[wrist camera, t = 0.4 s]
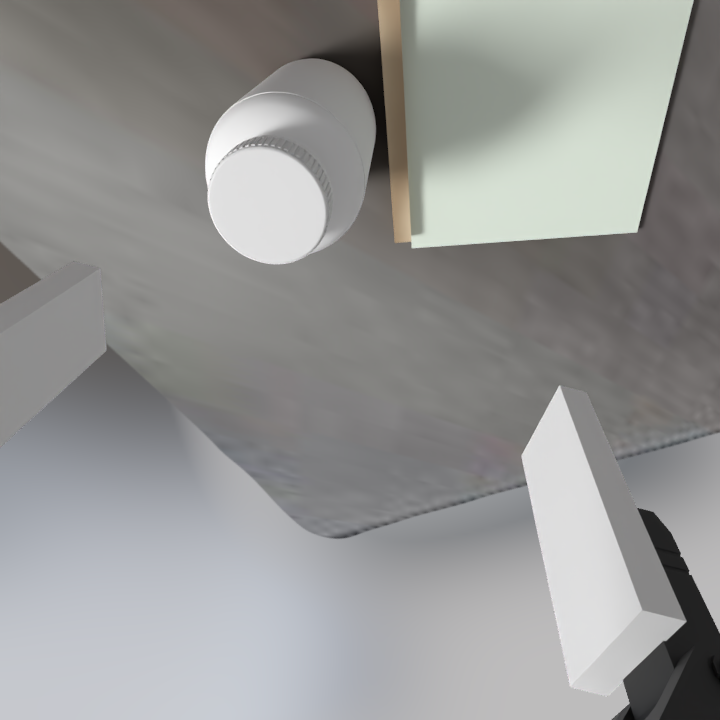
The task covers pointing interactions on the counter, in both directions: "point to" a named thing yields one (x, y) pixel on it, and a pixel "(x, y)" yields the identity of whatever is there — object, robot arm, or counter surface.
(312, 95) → the pill bottle
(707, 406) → the counter surface
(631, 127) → the mat
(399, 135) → the stop strip
